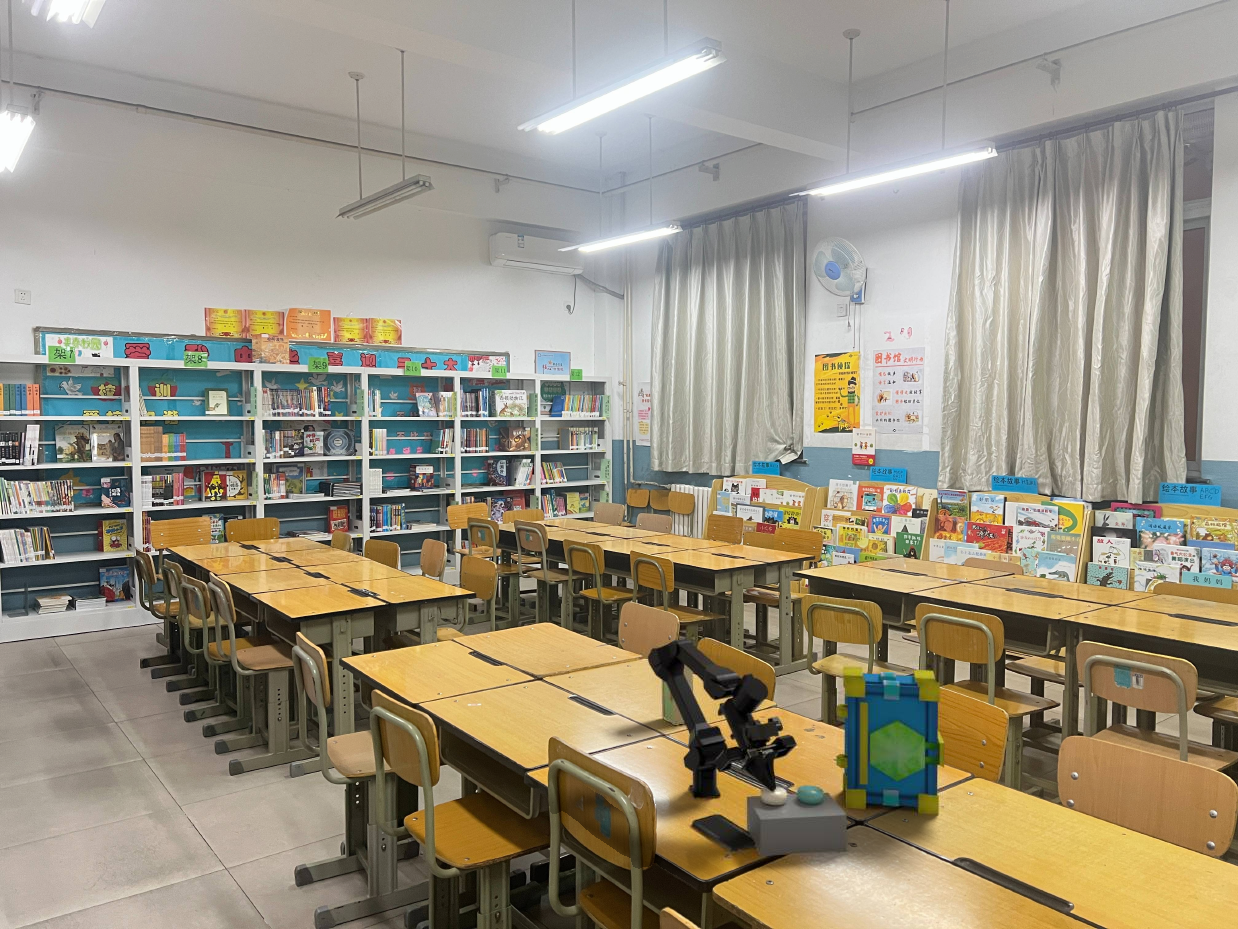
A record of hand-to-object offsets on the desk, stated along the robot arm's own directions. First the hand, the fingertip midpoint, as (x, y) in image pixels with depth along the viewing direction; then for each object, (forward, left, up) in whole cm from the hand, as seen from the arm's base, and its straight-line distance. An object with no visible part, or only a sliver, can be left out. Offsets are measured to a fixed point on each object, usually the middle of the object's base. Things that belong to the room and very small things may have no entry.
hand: (773, 790), depth 183 cm
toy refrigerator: (-75, -8, -10) cm, 76 cm away
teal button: (0, +8, -5) cm, 10 cm away
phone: (-2, -10, -11) cm, 15 cm away
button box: (+2, +4, -10) cm, 11 cm away
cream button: (0, 0, -5) cm, 5 cm away
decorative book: (-14, +31, -10) cm, 35 cm away
